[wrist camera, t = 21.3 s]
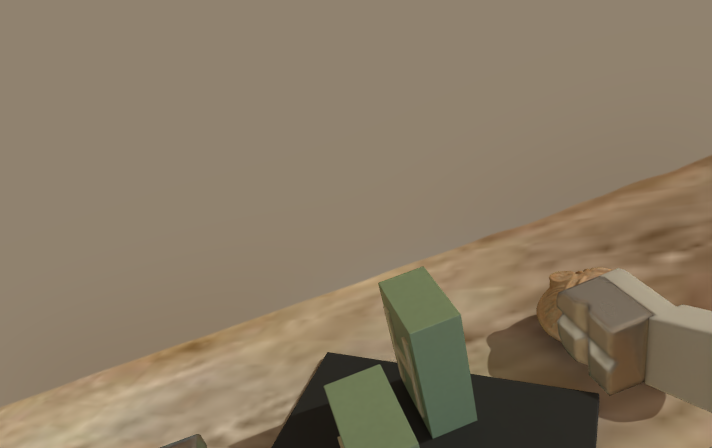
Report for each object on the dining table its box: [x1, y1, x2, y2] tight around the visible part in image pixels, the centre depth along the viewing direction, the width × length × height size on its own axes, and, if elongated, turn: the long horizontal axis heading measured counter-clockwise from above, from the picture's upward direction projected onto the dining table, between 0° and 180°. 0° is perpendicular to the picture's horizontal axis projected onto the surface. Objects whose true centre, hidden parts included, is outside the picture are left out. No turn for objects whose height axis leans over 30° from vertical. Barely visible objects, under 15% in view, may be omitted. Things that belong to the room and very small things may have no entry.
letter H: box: [378, 267, 477, 439], centre depth 39 cm, size 4×6×10 cm, turn 17°
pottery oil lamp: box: [537, 267, 612, 342], centre depth 41 cm, size 9×12×7 cm
